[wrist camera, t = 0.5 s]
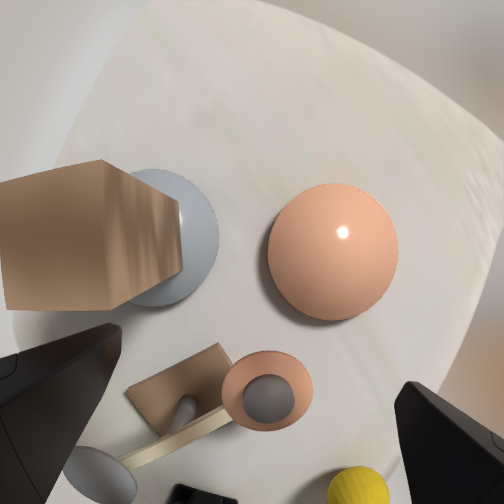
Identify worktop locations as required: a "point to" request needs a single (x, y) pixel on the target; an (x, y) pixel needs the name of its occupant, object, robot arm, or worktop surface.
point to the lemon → (358, 487)
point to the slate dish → (183, 238)
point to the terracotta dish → (332, 252)
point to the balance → (196, 412)
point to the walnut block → (85, 238)
